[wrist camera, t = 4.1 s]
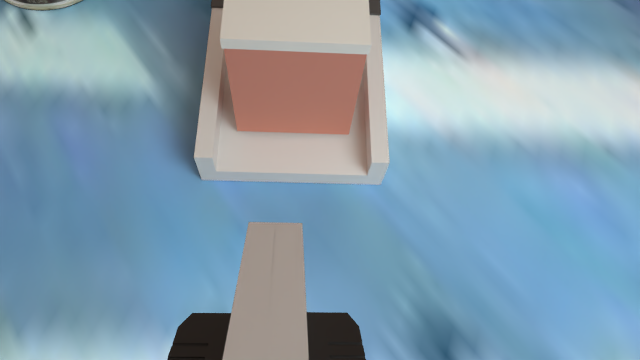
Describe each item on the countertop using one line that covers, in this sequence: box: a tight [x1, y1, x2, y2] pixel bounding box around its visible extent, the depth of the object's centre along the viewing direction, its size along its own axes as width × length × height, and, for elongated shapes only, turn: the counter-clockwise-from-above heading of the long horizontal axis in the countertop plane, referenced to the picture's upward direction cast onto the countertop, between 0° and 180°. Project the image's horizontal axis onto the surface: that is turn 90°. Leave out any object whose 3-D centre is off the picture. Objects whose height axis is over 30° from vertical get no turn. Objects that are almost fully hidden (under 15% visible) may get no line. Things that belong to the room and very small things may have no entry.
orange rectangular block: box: [220, 0, 371, 135], centre depth 33 cm, size 5×8×10 cm, turn 90°
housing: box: [194, 0, 389, 185], centre depth 38 cm, size 22×13×8 cm, turn 0°
